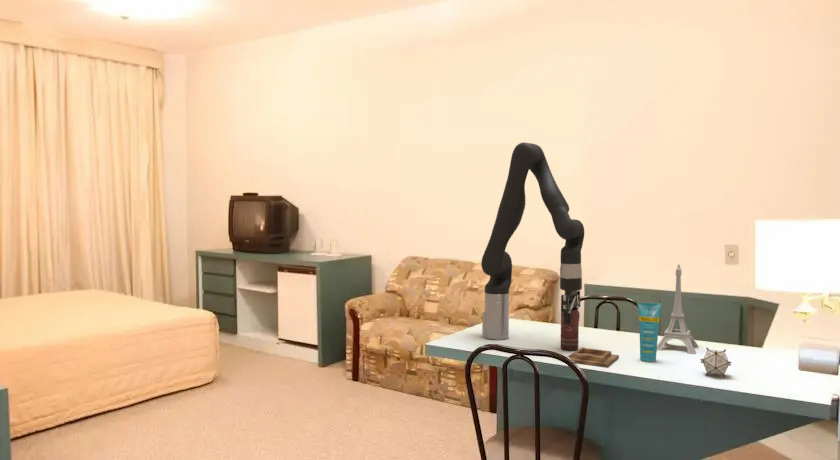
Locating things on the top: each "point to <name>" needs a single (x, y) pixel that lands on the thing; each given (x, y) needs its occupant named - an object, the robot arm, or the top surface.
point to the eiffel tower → (678, 315)
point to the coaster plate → (593, 357)
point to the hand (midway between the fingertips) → (570, 322)
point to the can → (570, 331)
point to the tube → (648, 329)
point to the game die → (715, 362)
